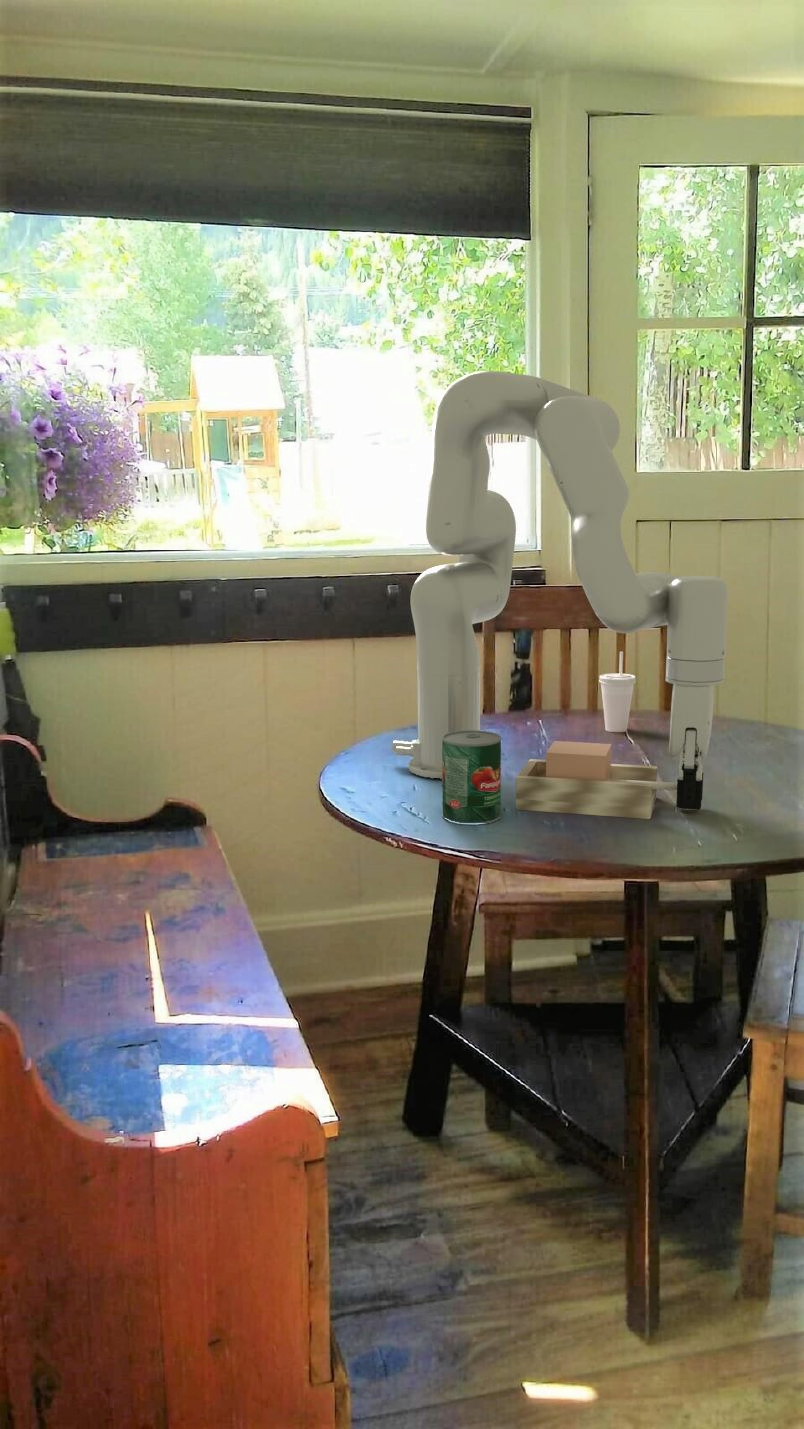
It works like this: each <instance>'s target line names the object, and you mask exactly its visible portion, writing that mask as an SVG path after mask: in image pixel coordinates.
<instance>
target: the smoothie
mask: <svg viewBox="0 0 804 1429" xmlns="http://www.w3.org/2000/svg"><path fill="white" fill-rule="evenodd" d="M623 662H624V651H619V668H618V672H619V673H618V672H617V673H616V672H614V673H611V672H610V673H604V674H600V675H599V680H598V682H599V683H600V687H601V688H600V689H601V696H602V697H601V698H602V708H603V716H604V717H603V719H604V726H605V731H606V732H611V733H624V732H627V729H628V724H629V718H630V717H629V716H630V713H631V712H630V711H631V705H632V704H631V703H632V698H633V692H634V686H635V685H634V684H636V683H637V680H636V678H637V677H636V675H634V674H629V673H623V672H624V671H623V667H624V666H623V665H624V664H623Z"/></svg>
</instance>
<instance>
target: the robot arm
mask: <svg viewBox="0 0 804 1429" xmlns="http://www.w3.org/2000/svg"><path fill="white" fill-rule="evenodd" d="M433 414H434V415H433V422H432V452H431V454H432V456H431V468H430V475H429V485H428V499H427V506H426V507H427V508H426V519H425V520H426V522H425V532H426V534H425V536H426V540H427V542H428V544H429V546H430V547H431V548H432V549H433V550H434V551H435V552H437V553H439V554H440V555H443V556H450V557H451V556H454V557H455V556H457V557H458V562H453V563H447V564H440V565H437V566H434V567H430V568H428V569H426V570H425V571H424V572H422V573H421V574H419V576H418V577H417V578H416V579H415V581H414V583H413V585H412V588H411V592H410V610H411V615H412V622H413V626H414V633H415V641H416V656H417V657H416V661H417V662H416V666H417V667H416V671H417V737H418V738H417V739H413V740H412V741H405V740H393V742H392V752H393V753H395V755H396V756H410V758H412V759H410V760H409V762H408V772H410V773H412V774H413V773H414V774H413V775H415V774H416V775H415V776H418V775H419V777H422V776H423V777H422V778H427V777H432V778H431V779H434V778H440V779H439V780H442V736H443V735H445V734H447V733H450V732H455V731H466V730H476V731H481V668H480V667H481V660H480V659H481V657H480V648H479V643H478V640H477V637H476V634H475V631H474V627H473V625H475V624H478V623H484V622H486V621H490V620H492V619H494V618H496V616H498V615H499V614H500V613H501V612H503V610H504V608H505V606H506V604H507V601H508V599H509V595H510V591H511V590H510V589H511V582H512V574H513V564H514V554H515V545H516V535H517V534H516V533H517V525H516V524H517V523H516V522H517V521H516V517H515V514H514V511H513V508H512V506H511V503H509V500H508V499H507V498H505V497H504V496H503V495H502V494H500V493H498V492H496V491H493V490H490V489H488V488H489V487H488V486H489V475H490V469H491V468H490V465H491V464H490V463H491V462H490V454H489V450H488V446H487V442H486V439H487V438H486V437H487V436H489V435H492V434H493V435H494V434H495V435H500V434H501V435H512V436H513V435H516V436H524V437H528V438H530V439H534V440H536V441H537V444H538V446H539V448H540V451H541V454H542V456H543V458H544V460H545V462H546V465H547V467H548V469H549V471H550V473H551V475H552V478H553V479H554V482H555V484H556V486H557V489H558V491H559V493H560V496H561V498H562V500H563V502H564V504H565V506H566V509H567V512H568V514H569V516H570V518H571V545H572V554H573V563H574V566H575V570H576V574H577V576H578V579H579V582H580V584H581V587H582V588H583V591H584V594H585V595H586V598H587V599H588V602H589V604H590V606H591V608H592V610H593V612H594V614H595V615H596V617H597V618H598V619H599V621H600V622H601V624H603V625H604V626H605V627H606V628H608V629H609V630H610V631H612V632H615V633H619V634H631V633H636V632H639V631H643V630H647V629H651V628H656V627H662V626H667V633H666V634H667V635H666V637H667V640H666V660H665V661H666V662H665V682H667V683H668V684H673V685H672V694H671V704H670V706H671V708H670V725H669V726H670V727H669V728H670V729H669V745H668V746H669V747H668V756H669V757H670V758H671V759H674V758H675V756H676V757H678V756H679V765H680V768H679V770H678V778H677V780H676V781H677V782H676V783H677V790H676V804H675V806H676V807H677V809H680V810H685V809H695V810H694V811H697V810H698V811H700V810H701V808H702V801H703V790H704V772H702V780H700V776H701V763H702V764H703V760H704V759H706V758H707V755H708V750H709V745H710V740H711V734H712V724H713V714H714V698H715V696H714V695H715V686H719V685H723V684H724V683H725V668H726V651H727V650H726V649H727V648H726V647H727V630H728V628H727V626H728V606H729V586H728V584H727V582H726V581H725V579H723V578H720V577H717V576H713V575H712V576H709V575H708V576H707V575H686V576H685V575H684V576H683V575H677V574H676V575H675V574H671V573H667V572H663V571H654V570H653V571H643V572H636V571H635V570H634V567H633V565H632V564H631V561H630V558H629V556H628V554H627V551H626V549H625V545H624V542H623V538H622V530H621V529H622V528H621V527H622V519H623V516H624V512H625V509H626V508H627V506H628V503H629V501H630V497H631V492H630V489H629V488H630V487H629V486H628V484H627V482H626V479H625V478H624V475H623V472H622V470H620V467H619V465H618V462H617V461H616V460H617V459H616V458H615V456H614V454H613V452H612V451H613V450H614V449H615V447H616V446H617V444H618V442H619V439H620V437H621V436H620V433H621V424H620V420H619V418H618V415H617V413H616V411H615V410H614V409H613V407H612V406H611V405H610V404H608V402H606V401H604V400H603V399H600V398H598V397H595V396H591V395H588V394H586V393H583V392H579V391H578V390H577V391H576V390H573V389H571V388H569V387H566V386H563V385H561V384H557V383H555V382H553V381H549V380H547V379H544V378H541V377H538V376H533V375H530V374H529V375H528V374H521V373H512V372H506V371H499V370H483V371H475V372H472V373H471V372H470V373H468V374H465V375H464V376H462V377H460V378H458V379H456V380H455V381H454V382H452V383H451V384H450V385H449V386H448V387H447V388H446V389H445V390H444V391H443V393H442V394H441V396H440V398H439V399H438V402H437V404H436V406H435V410H434V413H433ZM684 762H685V763H684ZM694 762H697V765H696V764H694ZM696 771H697V772H696Z"/></svg>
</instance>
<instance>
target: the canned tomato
mask: <svg viewBox="0 0 804 1429" xmlns="http://www.w3.org/2000/svg"><path fill="white" fill-rule="evenodd" d="M501 765H502V736H501V735H500V734H498V733H495V732H493V731H486V730H480V731H476V730H466V731H455V732H450V733H447V734H445V735H443V736H442V779H441V781H442V785H441V786H442V790H441V792H442V793H441V794H442V796H441V797H442V800H441V801H442V802H441V804H442V813H443V817H444V818H447V819H449V820H451V821H455V822H459V823H490V824H492V823H491V822H494V821H496V822H497V820H498V819H499V818H500V819H502V818H501V817H502V814H501V809H502V806H501V804H502V803H501V802H502V800H501V799H502V794H501V793H502V790H501V788H502V787H501V786H502V785H501V782H502V779H501V778H502V776H501V775H502V767H501ZM443 817H442V818H443ZM500 819H499V820H500ZM499 820H498V821H499ZM494 823H495V822H494Z"/></svg>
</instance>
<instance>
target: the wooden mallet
mask: <svg viewBox="0 0 804 1429" xmlns="http://www.w3.org/2000/svg"><path fill="white" fill-rule="evenodd" d="M545 758H546V759H545V760H546V777H550V778H566V779H582V780H598V781H614V782H629V783H645V784H652V789H656V790H661V791H662V790H663V791H664V790H665V791H677V782H669V781H668V782H666V781H657V782H652V781H636V780H620V779H611V764H612V743H599V742H597V743H596V742H583V741H581V742H580V741H579V742H578V741H577V742H576V741H562V740H560V741H559V740H554V741H553V742H552V744H550V746H549V748H548V749H547V751H546V752H545ZM684 763H685V762H684ZM694 764H696V765H697V762H694ZM678 767H679V768H680V764H679V766H678ZM696 772H697V771H696ZM702 773H703V762H702V763H701V776H700V780H702ZM684 810H685V811H686V810H687V811H696V810H695V809H684Z"/></svg>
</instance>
